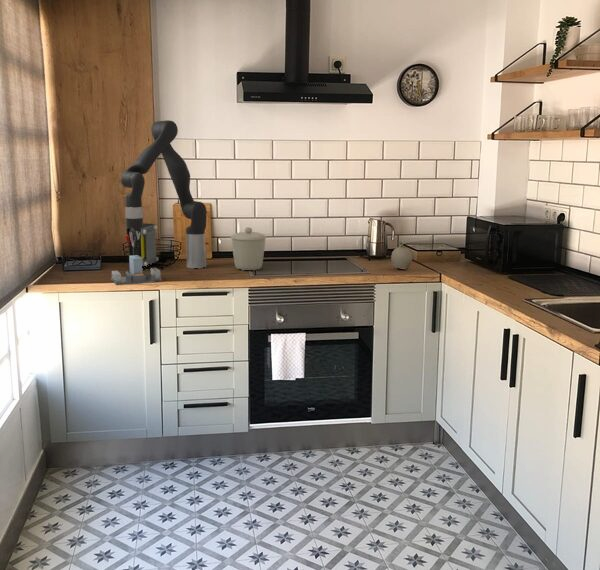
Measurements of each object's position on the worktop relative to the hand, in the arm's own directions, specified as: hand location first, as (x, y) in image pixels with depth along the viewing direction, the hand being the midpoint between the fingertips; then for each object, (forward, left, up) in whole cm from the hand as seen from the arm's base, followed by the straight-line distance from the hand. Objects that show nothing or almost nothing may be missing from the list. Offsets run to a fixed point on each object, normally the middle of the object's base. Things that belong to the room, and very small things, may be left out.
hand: (135, 254), depth 320 cm
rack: (0, 0, -12) cm, 12 cm away
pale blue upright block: (0, 0, -11) cm, 11 cm away
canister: (-57, -10, -12) cm, 59 cm away
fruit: (-131, +13, -12) cm, 132 cm away
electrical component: (-9, -36, -12) cm, 39 cm away
